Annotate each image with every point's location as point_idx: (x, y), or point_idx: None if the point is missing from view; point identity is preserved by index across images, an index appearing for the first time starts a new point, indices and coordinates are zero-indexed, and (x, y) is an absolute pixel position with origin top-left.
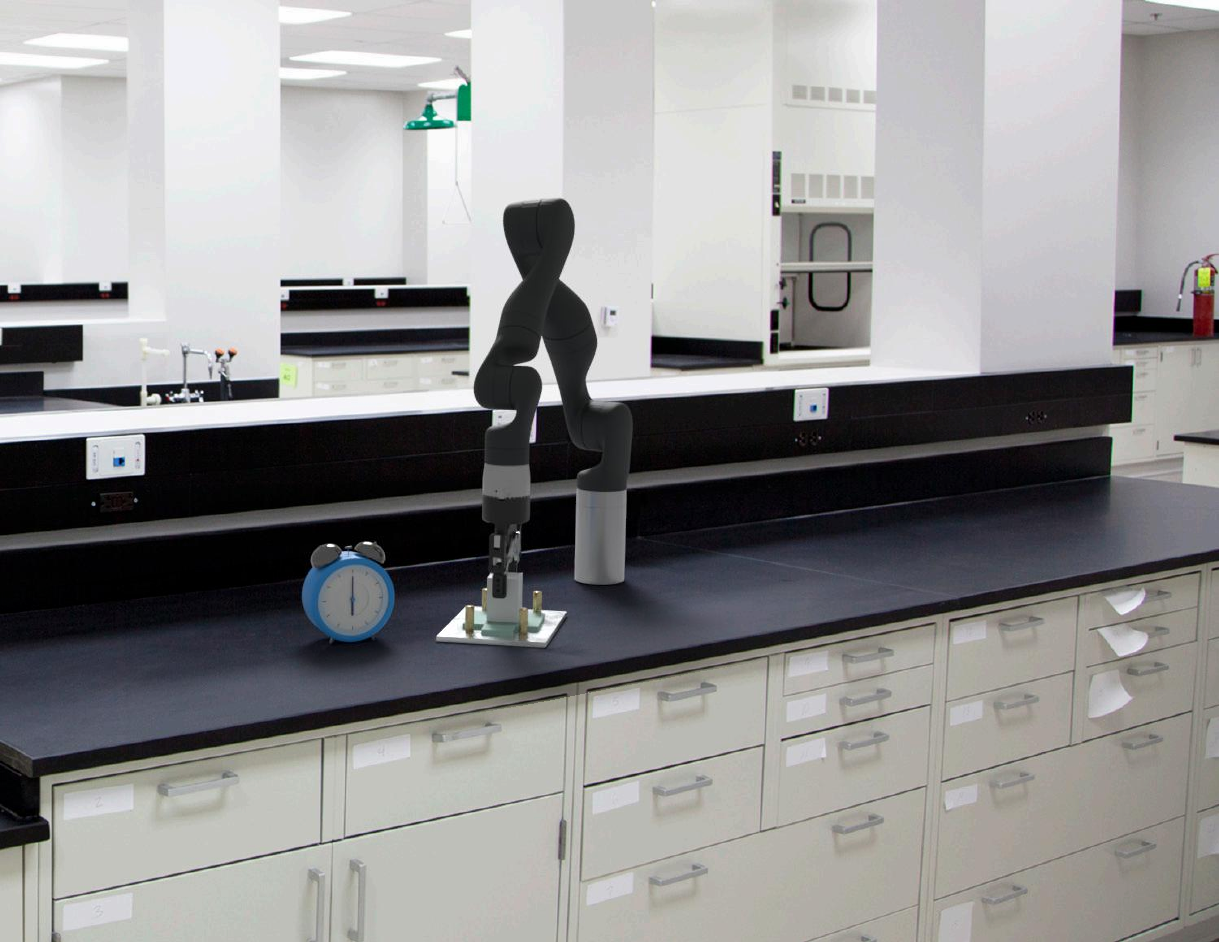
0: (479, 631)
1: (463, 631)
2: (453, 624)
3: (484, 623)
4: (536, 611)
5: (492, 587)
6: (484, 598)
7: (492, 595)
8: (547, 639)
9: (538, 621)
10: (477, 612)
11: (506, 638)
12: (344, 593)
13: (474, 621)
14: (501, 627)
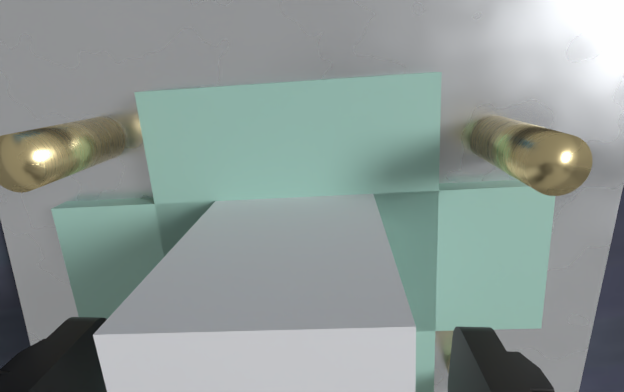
0: (118, 183)
1: (89, 110)
2: (207, 24)
3: (171, 200)
4: None
5: (28, 357)
6: (502, 147)
7: (66, 321)
8: None
9: None
10: (395, 116)
11: (50, 309)
12: None
13: (193, 144)
14: (125, 285)
